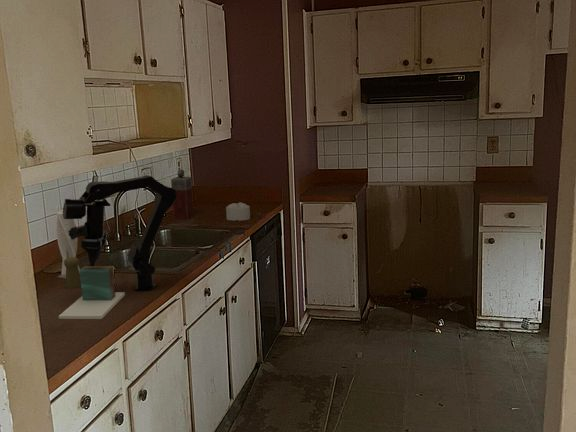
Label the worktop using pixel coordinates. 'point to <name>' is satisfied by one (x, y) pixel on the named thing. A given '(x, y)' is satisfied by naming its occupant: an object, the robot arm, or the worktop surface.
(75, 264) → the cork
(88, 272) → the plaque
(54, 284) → the worktop surface
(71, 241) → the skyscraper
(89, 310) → the board
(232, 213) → the lumpy-topped squat cylinder
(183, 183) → the square decanter
